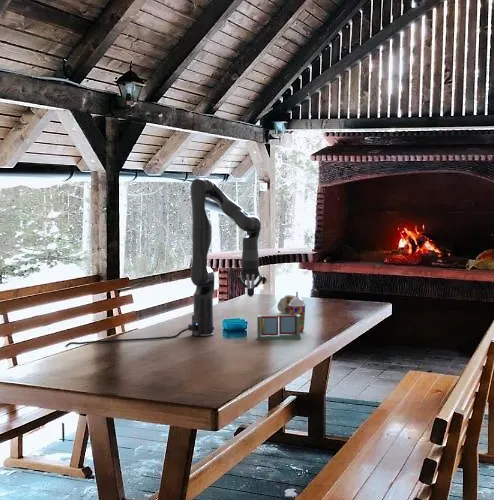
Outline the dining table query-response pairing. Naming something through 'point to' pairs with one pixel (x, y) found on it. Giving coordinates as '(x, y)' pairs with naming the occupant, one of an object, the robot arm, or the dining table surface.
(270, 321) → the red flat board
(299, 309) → the smoothie
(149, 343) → the dining table surface
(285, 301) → the stone
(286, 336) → the green double frame
